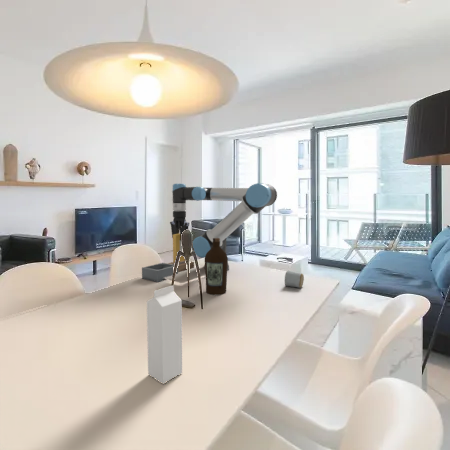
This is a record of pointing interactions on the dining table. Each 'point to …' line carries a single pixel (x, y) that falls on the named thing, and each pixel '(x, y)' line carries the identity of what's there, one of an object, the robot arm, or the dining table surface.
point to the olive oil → (216, 269)
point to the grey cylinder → (294, 279)
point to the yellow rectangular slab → (176, 247)
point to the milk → (164, 334)
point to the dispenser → (183, 265)
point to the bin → (157, 272)
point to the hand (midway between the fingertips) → (179, 250)
